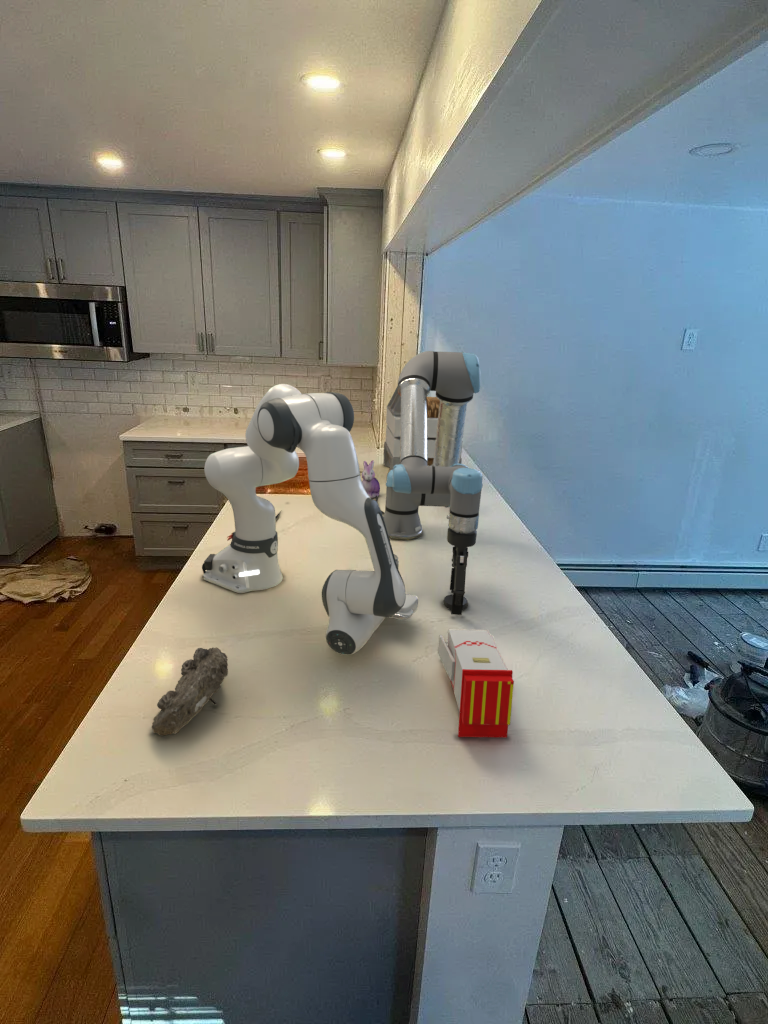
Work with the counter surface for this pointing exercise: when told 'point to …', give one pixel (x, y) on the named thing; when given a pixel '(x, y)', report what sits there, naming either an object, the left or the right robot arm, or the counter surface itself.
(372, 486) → the figurine
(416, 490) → the right robot arm
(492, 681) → the toy
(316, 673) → the counter surface
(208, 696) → the fossil
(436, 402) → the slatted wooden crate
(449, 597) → the lid
